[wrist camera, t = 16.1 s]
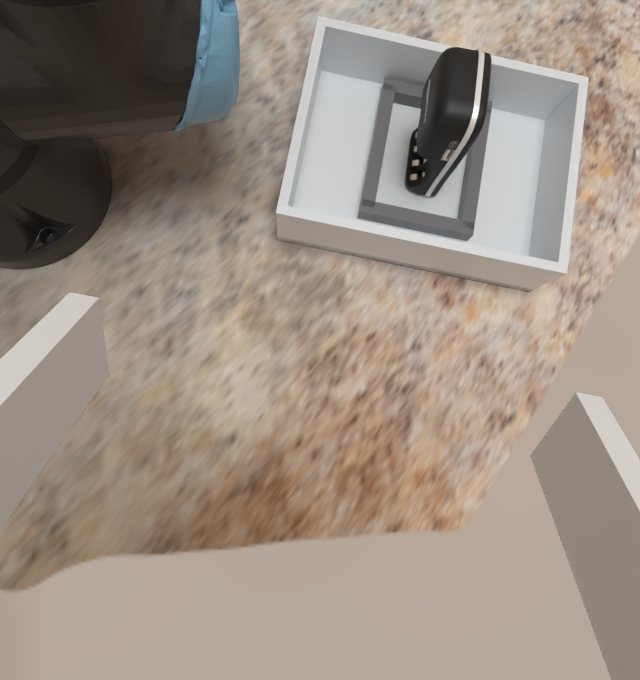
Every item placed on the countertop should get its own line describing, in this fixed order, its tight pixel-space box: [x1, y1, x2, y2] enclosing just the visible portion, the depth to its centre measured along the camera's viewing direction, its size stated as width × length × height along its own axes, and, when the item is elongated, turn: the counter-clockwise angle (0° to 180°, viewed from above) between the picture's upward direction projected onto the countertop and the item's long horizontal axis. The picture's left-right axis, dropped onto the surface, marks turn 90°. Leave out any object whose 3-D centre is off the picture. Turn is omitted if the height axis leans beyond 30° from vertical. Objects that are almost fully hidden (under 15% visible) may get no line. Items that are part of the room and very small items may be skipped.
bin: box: [276, 16, 589, 292], centre depth 41 cm, size 24×18×6 cm
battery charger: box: [405, 47, 492, 197], centre depth 38 cm, size 7×4×11 cm, turn 172°
